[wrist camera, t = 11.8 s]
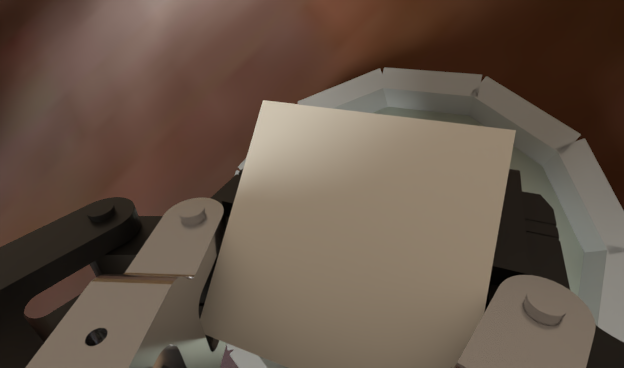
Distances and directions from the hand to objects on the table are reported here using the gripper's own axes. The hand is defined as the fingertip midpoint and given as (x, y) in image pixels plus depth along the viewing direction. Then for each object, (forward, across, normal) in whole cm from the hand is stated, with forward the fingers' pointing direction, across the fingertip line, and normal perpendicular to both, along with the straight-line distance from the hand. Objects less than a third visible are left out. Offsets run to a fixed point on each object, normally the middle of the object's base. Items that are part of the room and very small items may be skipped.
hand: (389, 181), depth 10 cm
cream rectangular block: (+2, 0, +5) cm, 6 cm away
